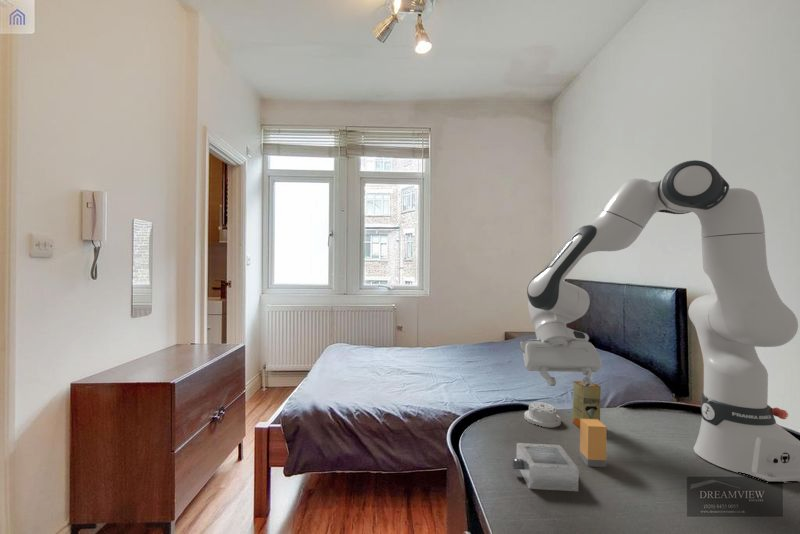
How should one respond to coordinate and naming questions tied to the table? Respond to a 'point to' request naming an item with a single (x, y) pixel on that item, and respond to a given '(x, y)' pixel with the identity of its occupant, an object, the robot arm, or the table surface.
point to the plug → (593, 442)
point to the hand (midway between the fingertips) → (570, 385)
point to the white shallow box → (546, 467)
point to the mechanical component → (542, 415)
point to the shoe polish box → (585, 402)
